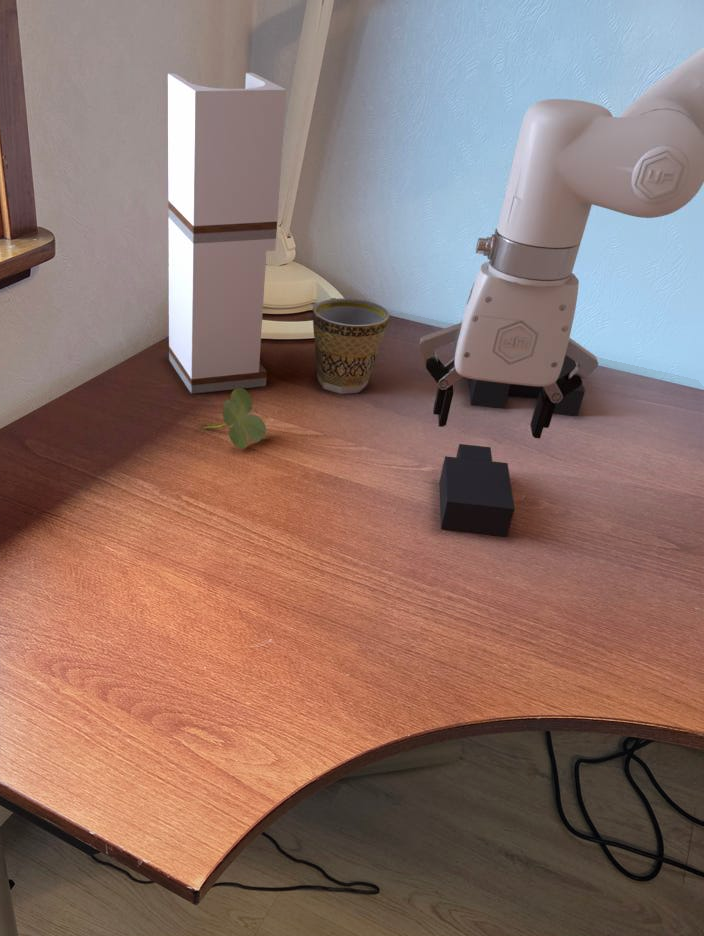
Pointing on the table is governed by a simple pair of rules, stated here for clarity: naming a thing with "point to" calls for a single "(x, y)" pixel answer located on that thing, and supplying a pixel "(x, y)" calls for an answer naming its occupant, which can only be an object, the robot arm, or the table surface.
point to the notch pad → (524, 392)
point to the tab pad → (475, 493)
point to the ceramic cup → (347, 342)
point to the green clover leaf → (241, 419)
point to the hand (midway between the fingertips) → (488, 426)
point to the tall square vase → (221, 227)
